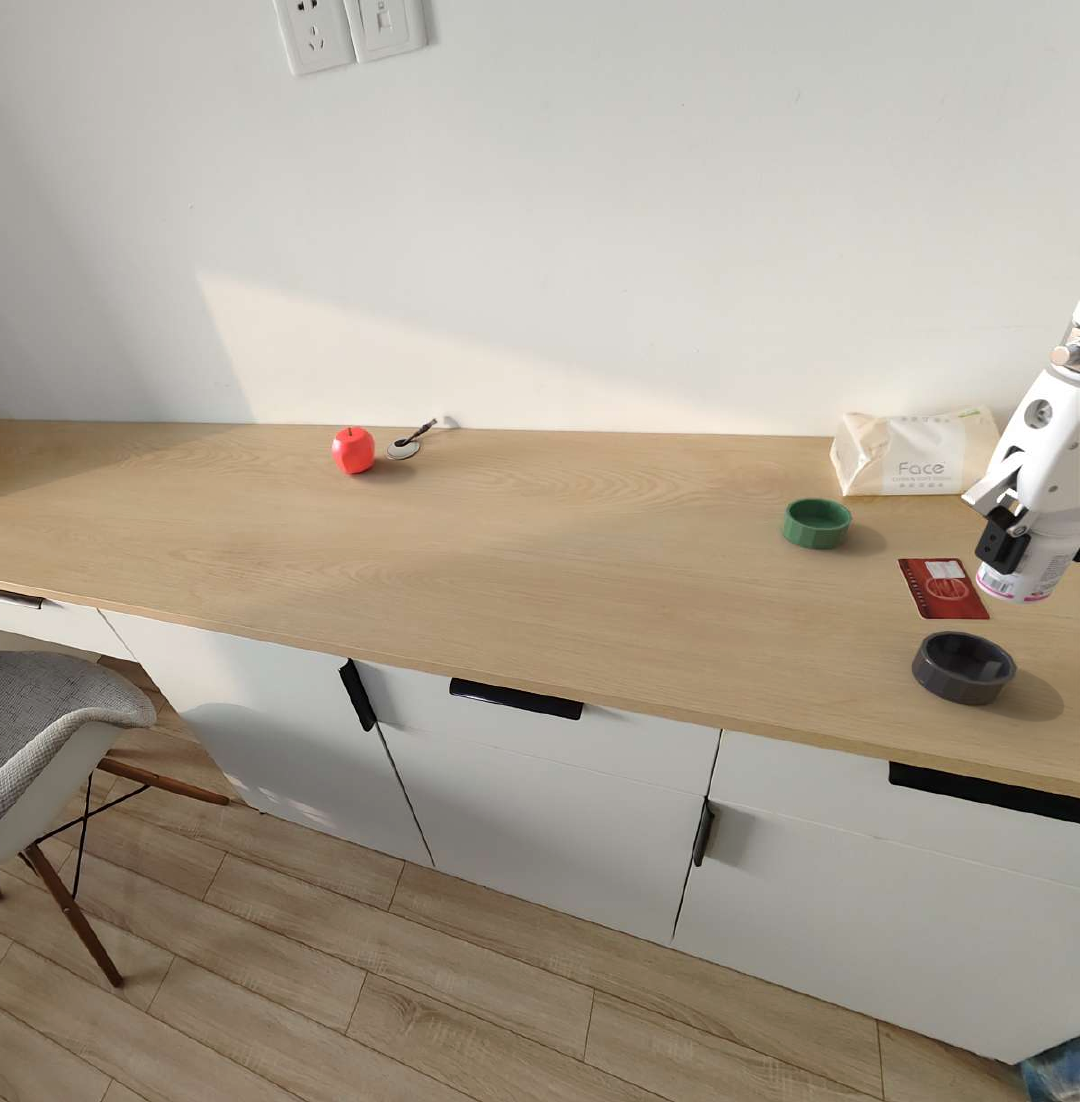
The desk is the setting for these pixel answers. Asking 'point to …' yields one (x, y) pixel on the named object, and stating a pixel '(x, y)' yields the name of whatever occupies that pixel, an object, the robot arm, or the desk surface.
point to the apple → (353, 450)
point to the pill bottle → (1037, 560)
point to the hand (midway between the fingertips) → (1028, 556)
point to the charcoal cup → (963, 668)
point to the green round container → (816, 523)
